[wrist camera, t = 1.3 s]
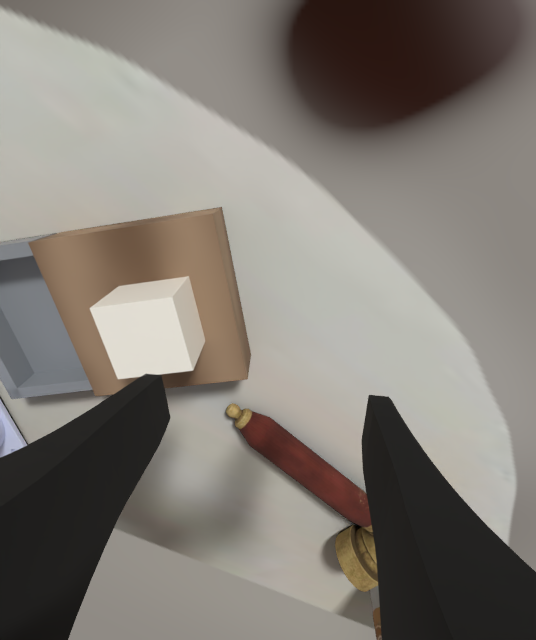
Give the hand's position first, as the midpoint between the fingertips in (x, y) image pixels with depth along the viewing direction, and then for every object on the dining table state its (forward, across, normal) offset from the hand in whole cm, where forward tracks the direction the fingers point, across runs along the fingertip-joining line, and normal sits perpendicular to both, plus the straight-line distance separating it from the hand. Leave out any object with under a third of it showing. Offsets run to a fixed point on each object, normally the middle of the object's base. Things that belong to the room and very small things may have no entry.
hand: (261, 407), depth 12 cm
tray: (+9, +17, +2) cm, 19 cm away
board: (+10, +8, +1) cm, 13 cm away
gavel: (+11, -3, +16) cm, 20 cm away
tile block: (+7, +7, 0) cm, 10 cm away
